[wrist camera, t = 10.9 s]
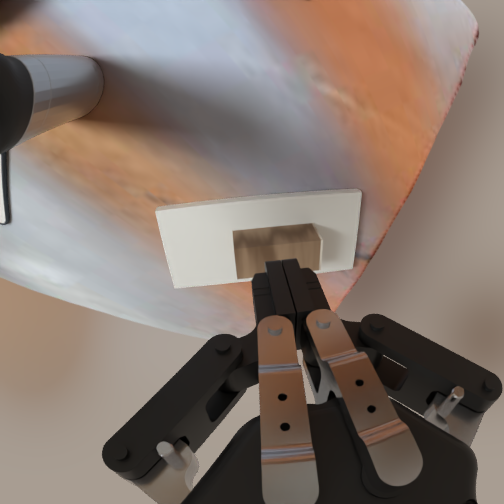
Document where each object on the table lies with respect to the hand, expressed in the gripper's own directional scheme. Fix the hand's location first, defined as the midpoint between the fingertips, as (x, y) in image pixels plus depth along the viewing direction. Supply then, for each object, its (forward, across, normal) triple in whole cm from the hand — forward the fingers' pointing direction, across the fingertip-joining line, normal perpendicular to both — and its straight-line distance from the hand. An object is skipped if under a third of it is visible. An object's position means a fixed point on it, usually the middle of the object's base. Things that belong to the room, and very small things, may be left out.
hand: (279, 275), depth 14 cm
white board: (+29, -2, +15) cm, 33 cm away
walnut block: (+25, +2, +15) cm, 29 cm away
